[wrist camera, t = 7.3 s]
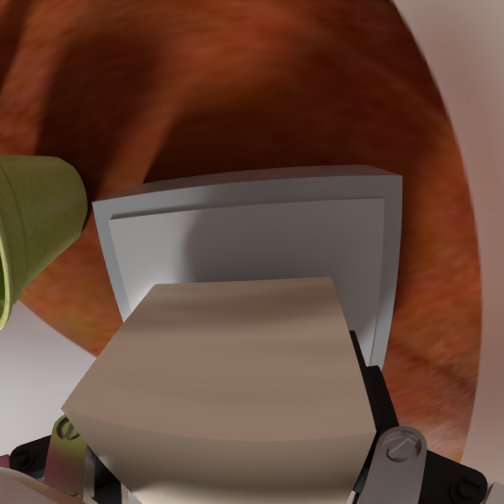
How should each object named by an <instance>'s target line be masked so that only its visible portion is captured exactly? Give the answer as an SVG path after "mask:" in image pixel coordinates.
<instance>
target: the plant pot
mask: <svg viewBox="0 0 504 504" xmlns="http://www.w3.org/2000/svg"><path fill="white" fill-rule="evenodd" d="M86 215H87V195H86V191H85V187H84V184H83V181H82V179H81V177H80V175H79V174H78V172H77V171H76V169H75V168H74V167H73V166H72V165H70V164H69V163H67V162H65V161H64V160H62V159H60V158H58V157H50V156H25V155H0V329H2V328H3V327H4V326H5V325H6V323H7V321H8V320H9V317H10V314H11V311H12V306H13V305H14V304H15V303H16V302H17V300H18V299H19V297H20V295H21V293H22V290H23V289H24V288H25V287H26V286H27V285H28V284H29V283H30V282H31V281H32V280H33V279H34V278H35V277H36V276H37V275H38V274H39V273H40V272H41V271H42V270H43V269H44V268H45V267H46V266H48V265H49V264H50V263H51V262H52V261H53V260H54V259H55V258H56V257H57V256H59V255H60V254H61V253H62V252H63V251H64V250H65V249H67V248H68V247H69V246H70V245H71V244H72V243H73V242H74V241H76V240H77V239H78V237H79V236H80V235H81V233H82V228H83V224H84V221H85V218H86Z"/></svg>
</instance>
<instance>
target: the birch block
mask: <svg viewBox="0 0 504 504" xmlns="http://www.w3.org/2000/svg"><path fill="white" fill-rule="evenodd" d="M61 409H62V411H63V412H64V413H65V415H66V416H67V418H68V419H69V421H70V422H71V423H72V425H73V426H74V428H75V429H76V430H77V432H78V433H79V434H80V436H81V437H82V438H83V439H84V441H85V442H86V443H87V444H88V446H89V447H90V448H91V449H92V451H93V452H94V453H95V454H96V455H97V457H98V458H99V459H100V460H101V461H102V462H103V464H104V465H105V466H106V467H107V468H108V469H109V470H110V471H111V472H112V473H113V475H114V476H115V477H116V478H117V479H118V480H119V481H120V482H121V483H122V484H123V485H124V486H125V487H126V488H127V489H128V490H129V491H130V492H131V493H132V494H133V495H134V496H135V497H136V498H137V499H138V500H139V501H140V502H142V503H143V504H345V503H346V501H347V499H348V497H349V495H350V493H351V491H352V489H353V487H354V485H355V483H356V481H357V478H358V476H359V474H360V472H361V469H362V467H363V465H364V462H365V460H366V457H367V455H368V452H369V450H370V447H371V445H372V442H373V439H374V437H375V434H376V428H375V424H374V420H373V416H372V412H371V408H370V404H369V400H368V396H367V393H366V389H365V385H364V382H363V378H362V374H361V371H360V367H359V364H358V360H357V357H356V353H355V350H354V347H353V343H352V340H351V337H350V333H349V330H348V327H347V324H346V321H345V317H344V314H343V311H342V308H341V305H340V302H339V299H338V296H337V293H336V290H335V287H334V284H333V281H332V278H331V276H327V277H311V278H293V279H275V280H254V281H231V282H205V283H172V284H155V285H154V286H153V287H152V288H151V289H150V291H149V292H148V293H147V294H146V296H145V297H144V298H143V299H142V301H141V302H140V303H139V304H138V306H137V307H136V308H135V309H134V311H133V312H132V313H131V314H130V316H129V317H128V318H127V319H126V321H125V322H124V323H123V325H122V326H121V327H120V328H119V330H118V331H117V332H116V334H115V335H114V336H113V337H112V339H111V340H110V341H109V343H108V344H107V345H106V347H105V348H104V349H103V351H102V352H101V353H100V355H99V356H98V357H97V359H96V360H95V361H94V363H93V364H92V365H91V367H90V368H89V370H88V371H87V372H86V374H85V375H84V377H83V378H82V379H81V381H80V382H79V383H78V385H77V386H76V388H75V389H74V391H73V392H72V393H71V395H70V396H69V397H68V399H67V400H66V402H65V403H64V405H63V406H62V408H61Z"/></svg>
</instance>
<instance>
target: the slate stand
mask: <svg viewBox="0 0 504 504" xmlns="http://www.w3.org/2000/svg"><path fill="white" fill-rule="evenodd" d="M92 205H93V210H94V215H95V220H96V225H97V229H98V234H99V238H100V242H101V247H102V251H103V255H104V259H105V262H106V266H107V270H108V274H109V277H110V281H111V284H112V288H113V291H114V294H115V298H116V301H117V304H118V307H119V310H120V313H121V316H122V319H123V322H125V321H126V319H127V318H128V317H129V316H130V314H131V313H132V312H133V311H134V309H135V308H136V307H137V306H138V304H139V303H140V302H141V301H142V299H143V298H144V297H145V296H146V294H147V293H148V292H149V291H150V289H151V288H152V287H153V286H154V285H155V284H172V283H205V282H231V281H254V280H275V279H293V278H311V277H327V276H331V278H332V281H333V284H334V287H335V290H336V293H337V296H338V299H339V302H340V305H341V308H342V311H343V314H344V317H345V321H346V324H347V327H348V330H354V331H355V333H356V336H357V339H358V342H359V345H360V348H361V351H362V354H363V357H364V360H365V364H366V366H374V365H378V366H379V367H380V369H381V372H382V367H383V363H384V358H385V353H386V348H387V343H388V338H389V332H390V326H391V320H392V314H393V307H394V300H395V293H396V285H397V276H398V266H399V255H400V242H401V224H402V175H399V174H396V173H393V172H389V171H386V170H383V169H379V168H376V167H372V166H369V165H325V166H302V167H285V168H271V169H258V170H246V171H236V172H226V173H217V174H208V175H199V176H191V177H184V178H176V179H169V180H163V181H156V182H149V183H143V184H140V185H137V186H134V187H131V188H128V189H126V190H123V191H120V192H118V193H115V194H112V195H110V196H107V197H104V198H102V199H99V200H97V201H94V202H92Z"/></svg>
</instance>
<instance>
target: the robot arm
mask: <svg viewBox="0 0 504 504" xmlns="http://www.w3.org/2000/svg"><path fill="white" fill-rule="evenodd" d="M349 333H350V337H351V340H352V343H353V347H354V350H355V353H356V357H357V360H358V364H359V367H360V371H361V374H362V378H363V382H364V385H365V389H366V393H367V396H368V400H369V404H370V408H371V412H372V416H373V420H374V424H375V428H376V434H375V437H374V439H373V442H372V445H371V447H370V450H369V452H368V455H367V457H366V460H365V462H364V465H363V467H362V469H361V472H360V474H359V476H358V478H357V481H356V483H355V485H354V487H353V489H352V490H353V491H354V492H355V495H354V497H353V500H352V503H351V504H504V485H503V484H500V483H497V482H494V483H493V484H489V483H487V480H486V478H485V476H484V475H483V474H482V473H480V472H479V471H477V470H475V469H472V468H470V467H467V466H465V465H462V464H460V463H457V462H455V461H452V460H450V459H448V458H445V457H443V456H441V455H438V454H436V453H434V452H431V451H429V450H427V442H426V440H425V437H424V436H423V435H422V434H421V433H420V432H419V431H418V430H416V429H414V428H412V427H407V426H399V423H398V420H397V417H396V414H395V411H394V407H393V404H392V401H391V398H390V395H389V392H388V389H387V386H386V383H385V381H384V378H383V375H382V372H381V369H380V367H379V366H378V365H374V366H366V364H365V360H364V357H363V354H362V351H361V348H360V345H359V342H358V339H357V336H356V333H355V331H354V330H349ZM0 504H129V503H128V489H127V488H126V487H125V486H124V485H123V484H122V483H121V482H120V481H119V480H118V479H117V478H116V477H115V476H114V475H113V473H112V472H111V471H110V470H109V469H108V468H107V467H106V466H105V465H104V464H103V462H102V461H101V460H100V459H99V458H98V457H97V455H96V454H95V453H94V452H93V451H92V449H91V448H90V447H89V446H88V444H87V443H86V442H85V441H84V439H83V438H82V437H81V436H80V434H79V433H78V432H77V430H76V429H75V428H74V426H73V425H72V423H71V422H70V421H69V419H68V418H67V416H66V415H63V416H61V417H60V418H59V419H58V420H57V421H56V422H55V424H54V427H53V430H52V435H49V436H46V437H43V438H41V439H38V440H35V441H32V442H29V443H26V444H23V445H20V446H18V447H16V448H15V449H14V450H13V451H12V453H11V454H10V456H9V455H8V454H7V455H3V456H0Z"/></svg>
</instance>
